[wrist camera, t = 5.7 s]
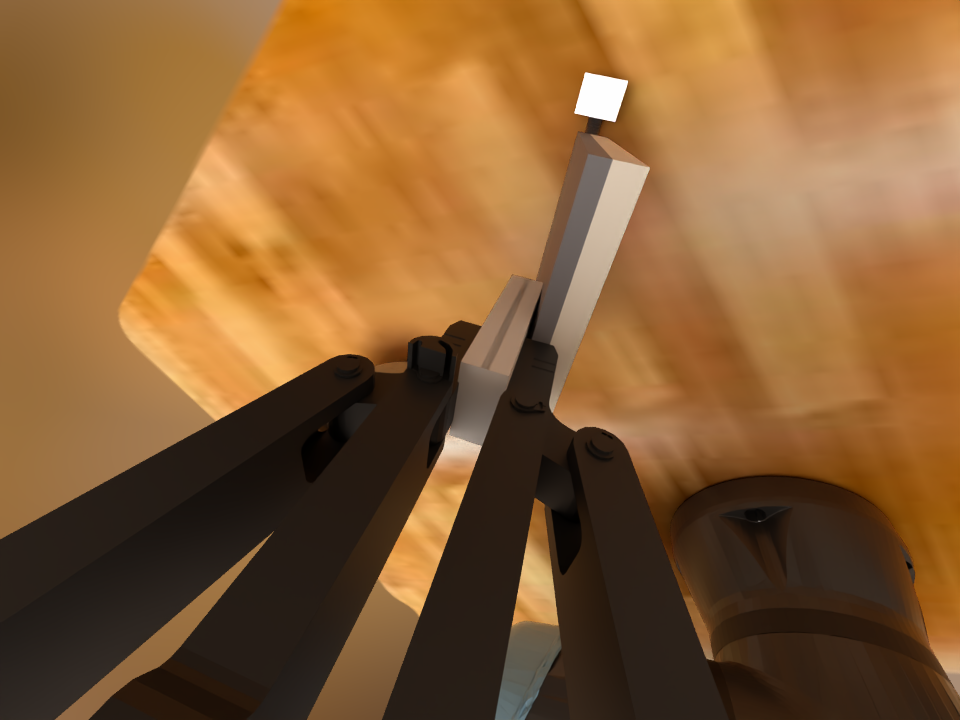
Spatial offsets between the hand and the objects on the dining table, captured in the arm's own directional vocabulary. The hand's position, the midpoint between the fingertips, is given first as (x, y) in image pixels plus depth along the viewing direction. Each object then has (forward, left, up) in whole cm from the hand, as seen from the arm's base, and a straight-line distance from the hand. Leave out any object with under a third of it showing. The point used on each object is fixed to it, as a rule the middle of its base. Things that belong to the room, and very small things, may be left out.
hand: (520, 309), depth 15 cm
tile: (0, 0, -3) cm, 3 cm away
